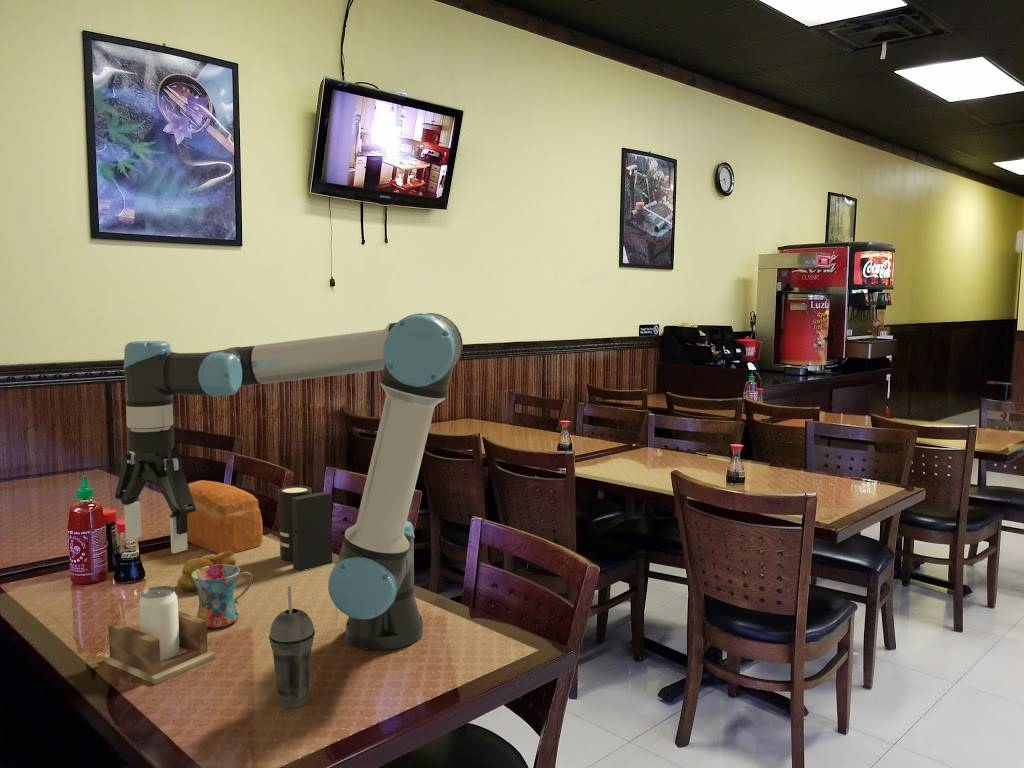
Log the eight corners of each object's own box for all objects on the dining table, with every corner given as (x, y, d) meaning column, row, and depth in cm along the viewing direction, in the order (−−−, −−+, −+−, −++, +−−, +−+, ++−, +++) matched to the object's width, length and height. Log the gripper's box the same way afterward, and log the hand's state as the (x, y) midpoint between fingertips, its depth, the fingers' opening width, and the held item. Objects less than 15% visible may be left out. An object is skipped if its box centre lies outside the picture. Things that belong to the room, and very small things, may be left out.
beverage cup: (320, 690, 134) (318, 576, 132) (311, 712, 126) (308, 592, 124) (277, 690, 133) (274, 576, 131) (265, 713, 126) (261, 592, 124)
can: (168, 643, 149) (166, 582, 147) (186, 653, 145) (184, 590, 143) (134, 655, 144) (131, 592, 142) (151, 666, 140) (149, 601, 138)
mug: (200, 635, 155) (198, 583, 154) (187, 620, 162) (185, 570, 161) (261, 620, 162) (259, 570, 161) (245, 606, 170) (244, 558, 168)
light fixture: (306, 549, 208) (305, 483, 206) (333, 562, 198) (332, 493, 196) (271, 557, 201) (269, 489, 199) (297, 571, 191) (295, 499, 189)
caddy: (215, 658, 145) (214, 621, 144) (155, 684, 135) (154, 645, 134) (162, 637, 154) (161, 603, 153) (102, 661, 144) (100, 624, 143)
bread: (216, 526, 229) (214, 473, 227) (267, 545, 212) (265, 487, 210) (170, 537, 218) (167, 481, 216) (219, 557, 201) (217, 497, 200)
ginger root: (184, 598, 174) (183, 563, 173) (168, 586, 181) (167, 552, 180) (240, 584, 183) (239, 551, 182) (223, 573, 190) (222, 541, 189)
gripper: (214, 431, 137) (218, 550, 139) (129, 419, 150) (134, 528, 152) (175, 438, 130) (180, 562, 133) (90, 424, 143) (96, 538, 146)
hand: (156, 544), depth 142 cm, fingers open, 13 cm apart
